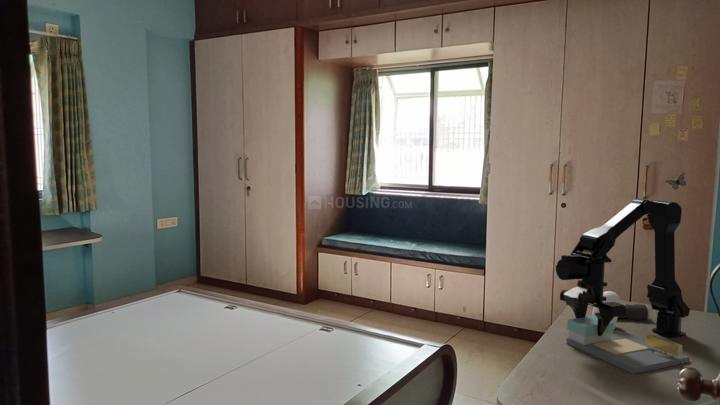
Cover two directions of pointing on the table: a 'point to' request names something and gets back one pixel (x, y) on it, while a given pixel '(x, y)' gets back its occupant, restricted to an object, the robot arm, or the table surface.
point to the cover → (587, 326)
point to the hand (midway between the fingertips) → (589, 332)
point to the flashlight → (636, 312)
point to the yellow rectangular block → (664, 345)
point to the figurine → (609, 298)
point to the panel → (624, 351)
